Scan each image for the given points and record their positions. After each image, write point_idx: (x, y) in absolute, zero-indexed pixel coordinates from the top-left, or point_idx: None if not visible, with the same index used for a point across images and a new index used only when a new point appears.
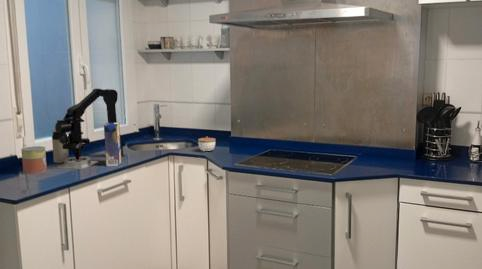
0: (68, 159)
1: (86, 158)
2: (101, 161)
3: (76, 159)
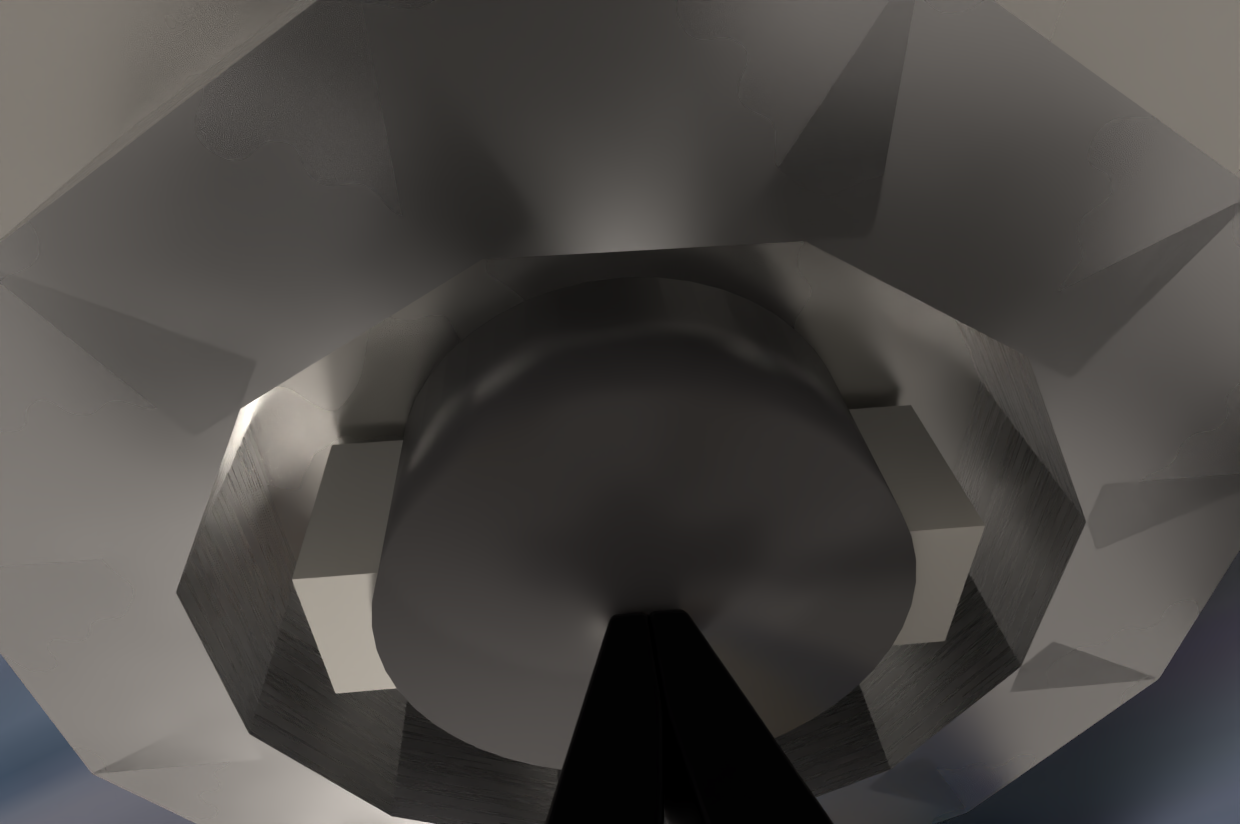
0: (503, 257)
1: (891, 751)
2: (1110, 725)
3: (602, 615)
